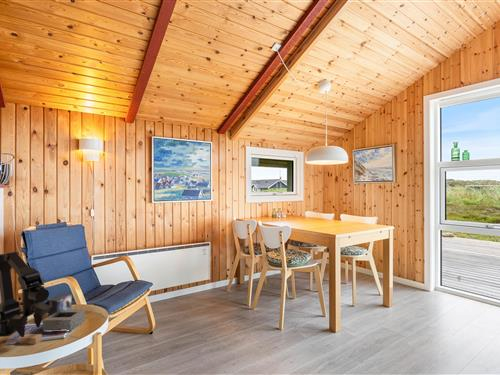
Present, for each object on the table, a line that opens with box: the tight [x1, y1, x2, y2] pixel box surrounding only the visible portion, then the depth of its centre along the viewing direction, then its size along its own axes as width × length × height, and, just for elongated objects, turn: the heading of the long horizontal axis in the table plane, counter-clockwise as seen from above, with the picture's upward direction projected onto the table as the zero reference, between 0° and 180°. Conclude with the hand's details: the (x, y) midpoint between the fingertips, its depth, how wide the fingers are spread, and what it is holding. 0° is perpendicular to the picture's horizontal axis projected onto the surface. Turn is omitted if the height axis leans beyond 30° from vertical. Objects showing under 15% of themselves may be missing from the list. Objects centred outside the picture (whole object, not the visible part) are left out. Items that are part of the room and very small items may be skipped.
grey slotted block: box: [42, 309, 86, 333], centre depth 148 cm, size 14×12×6 cm
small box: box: [47, 292, 73, 317], centre depth 163 cm, size 11×6×10 cm, turn 168°
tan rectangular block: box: [19, 333, 43, 345], centre depth 134 cm, size 8×4×3 cm, turn 85°
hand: (30, 331), depth 134 cm, fingers open, 9 cm apart
